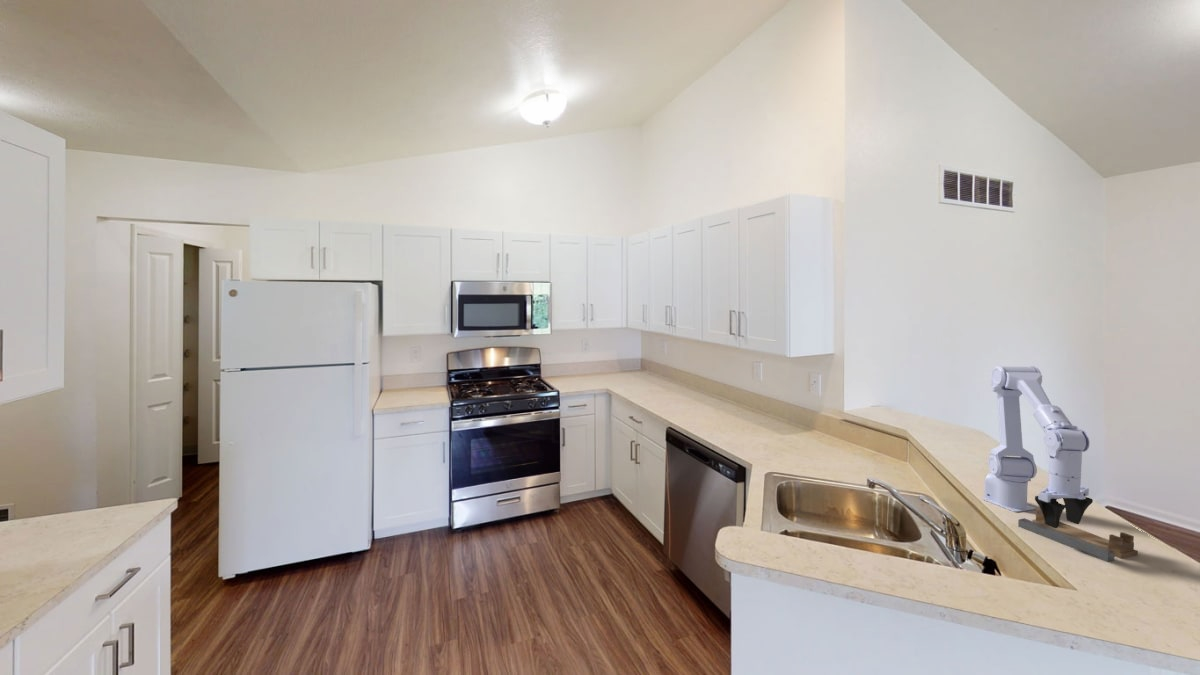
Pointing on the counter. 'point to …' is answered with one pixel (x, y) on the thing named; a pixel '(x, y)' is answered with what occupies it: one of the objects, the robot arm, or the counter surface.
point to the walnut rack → (1096, 538)
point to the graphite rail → (1067, 540)
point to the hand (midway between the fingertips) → (1062, 524)
